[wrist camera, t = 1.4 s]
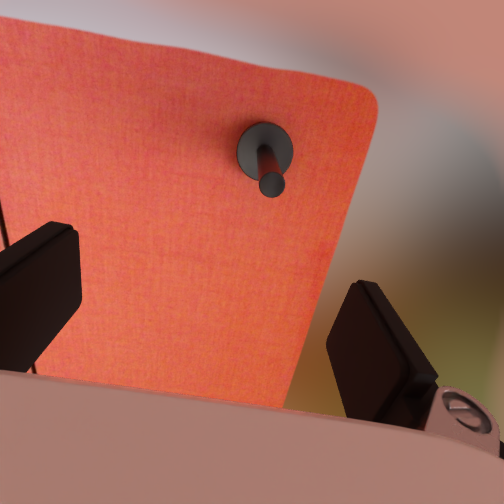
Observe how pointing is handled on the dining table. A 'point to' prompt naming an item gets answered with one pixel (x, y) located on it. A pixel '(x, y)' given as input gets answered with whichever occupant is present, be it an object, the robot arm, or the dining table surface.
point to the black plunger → (265, 156)
